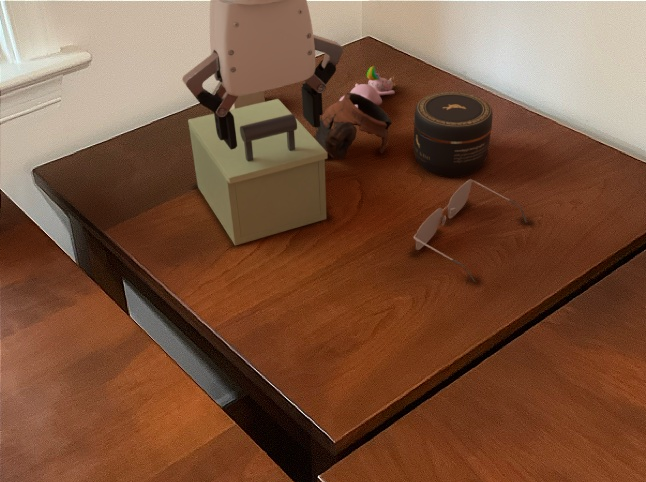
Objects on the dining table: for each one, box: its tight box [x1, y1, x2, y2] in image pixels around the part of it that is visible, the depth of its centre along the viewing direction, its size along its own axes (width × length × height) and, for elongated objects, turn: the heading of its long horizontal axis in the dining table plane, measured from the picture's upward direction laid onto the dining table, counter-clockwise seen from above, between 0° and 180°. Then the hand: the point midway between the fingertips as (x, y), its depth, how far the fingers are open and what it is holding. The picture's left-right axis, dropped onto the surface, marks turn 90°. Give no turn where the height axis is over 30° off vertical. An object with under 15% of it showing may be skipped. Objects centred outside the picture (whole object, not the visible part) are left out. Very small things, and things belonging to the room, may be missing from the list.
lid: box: [187, 98, 328, 184], centre depth 93 cm, size 14×12×5 cm
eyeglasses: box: [413, 178, 528, 282], centre depth 93 cm, size 14×8×4 cm, turn 146°
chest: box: [188, 125, 327, 246], centre depth 98 cm, size 14×12×9 cm
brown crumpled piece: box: [314, 92, 393, 160], centre depth 108 cm, size 12×10×8 cm
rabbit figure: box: [338, 65, 396, 108], centre depth 118 cm, size 6×6×15 cm
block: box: [230, 91, 266, 110], centre depth 118 cm, size 5×5×5 cm
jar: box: [412, 90, 494, 178], centre depth 106 cm, size 10×10×8 cm
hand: (271, 132), depth 89 cm, fingers open, 9 cm apart
